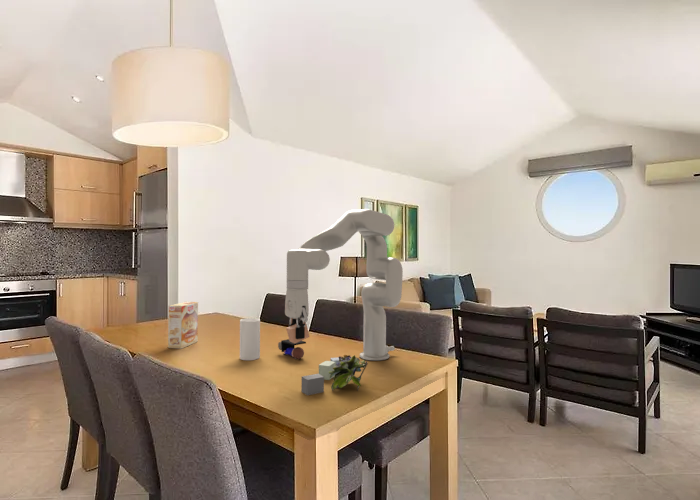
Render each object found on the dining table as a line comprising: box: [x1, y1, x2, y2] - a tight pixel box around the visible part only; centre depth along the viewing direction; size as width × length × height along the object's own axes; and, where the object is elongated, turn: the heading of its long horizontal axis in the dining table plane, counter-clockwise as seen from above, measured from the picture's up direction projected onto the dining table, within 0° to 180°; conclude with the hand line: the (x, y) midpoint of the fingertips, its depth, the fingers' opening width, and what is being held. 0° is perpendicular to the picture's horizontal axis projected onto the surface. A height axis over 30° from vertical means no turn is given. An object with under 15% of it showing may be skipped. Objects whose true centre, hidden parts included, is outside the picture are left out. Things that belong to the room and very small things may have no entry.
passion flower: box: [329, 354, 369, 391], centre depth 142 cm, size 13×12×14 cm
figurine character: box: [277, 338, 307, 360], centre depth 181 cm, size 7×8×15 cm
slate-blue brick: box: [329, 356, 342, 364], centre depth 159 cm, size 6×4×5 cm, turn 104°
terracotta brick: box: [286, 323, 310, 343], centre depth 149 cm, size 6×4×5 cm, turn 123°
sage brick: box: [318, 360, 336, 381], centre depth 153 cm, size 6×4×5 cm, turn 159°
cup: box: [239, 317, 261, 361], centre depth 178 cm, size 8×8×16 cm
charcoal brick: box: [300, 373, 325, 396], centre depth 137 cm, size 6×4×5 cm, turn 123°
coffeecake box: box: [167, 301, 199, 349], centre depth 201 cm, size 15×7×20 cm, turn 171°
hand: (297, 336), depth 148 cm, fingers closed on terracotta brick, 3 cm apart
